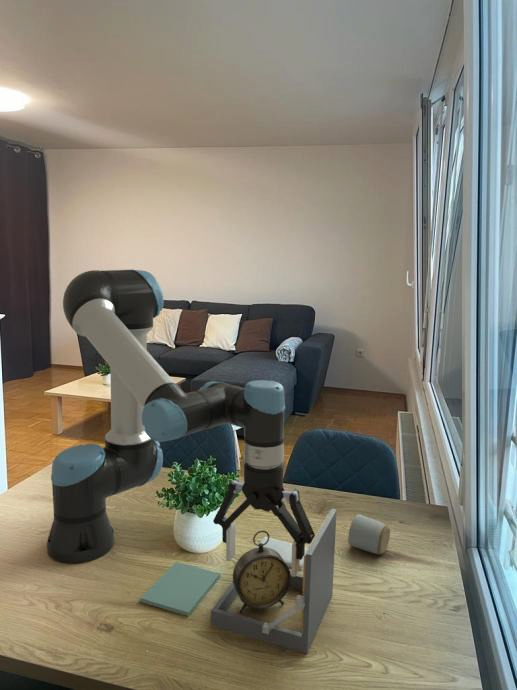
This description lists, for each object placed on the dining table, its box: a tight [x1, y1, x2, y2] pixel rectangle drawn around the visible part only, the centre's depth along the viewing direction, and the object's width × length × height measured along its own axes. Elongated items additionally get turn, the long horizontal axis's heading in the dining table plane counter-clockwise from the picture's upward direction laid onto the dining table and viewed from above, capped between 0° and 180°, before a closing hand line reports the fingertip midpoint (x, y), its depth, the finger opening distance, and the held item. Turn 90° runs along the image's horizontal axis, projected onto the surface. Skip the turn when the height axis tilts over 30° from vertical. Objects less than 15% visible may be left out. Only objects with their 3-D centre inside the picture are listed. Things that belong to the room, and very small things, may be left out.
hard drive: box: [255, 536, 309, 571], centre depth 127 cm, size 2×8×12 cm
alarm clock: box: [232, 529, 291, 614], centre depth 107 cm, size 11×5×16 cm, turn 106°
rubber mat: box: [139, 561, 221, 617], centre depth 113 cm, size 11×14×1 cm
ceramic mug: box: [347, 513, 391, 555], centre depth 130 cm, size 11×8×8 cm
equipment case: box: [210, 508, 338, 655], centre depth 105 cm, size 19×19×19 cm
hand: (262, 565), depth 106 cm, fingers open, 13 cm apart
